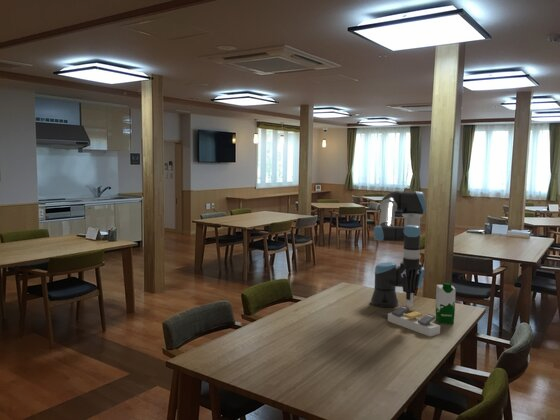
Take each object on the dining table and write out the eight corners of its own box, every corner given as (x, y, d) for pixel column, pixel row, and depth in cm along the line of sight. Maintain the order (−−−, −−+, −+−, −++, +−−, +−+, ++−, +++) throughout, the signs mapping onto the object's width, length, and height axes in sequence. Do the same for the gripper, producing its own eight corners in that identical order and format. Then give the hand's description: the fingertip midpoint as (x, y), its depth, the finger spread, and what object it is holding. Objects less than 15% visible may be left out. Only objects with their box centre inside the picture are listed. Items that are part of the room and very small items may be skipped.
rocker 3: (428, 316, 224) (428, 313, 224) (435, 318, 221) (435, 315, 221) (418, 323, 220) (417, 320, 220) (424, 325, 217) (424, 322, 217)
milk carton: (437, 323, 233) (439, 284, 231) (433, 318, 241) (435, 280, 240) (455, 324, 232) (457, 285, 230) (451, 318, 241) (452, 280, 239)
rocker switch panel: (385, 314, 247) (385, 305, 246) (439, 333, 219) (440, 323, 218) (376, 316, 243) (376, 307, 242) (430, 336, 215) (430, 325, 214)
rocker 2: (415, 313, 231) (415, 310, 231) (421, 315, 228) (422, 313, 228) (404, 316, 226) (404, 314, 226) (410, 319, 223) (411, 316, 223)
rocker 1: (402, 307, 237) (402, 305, 237) (409, 309, 234) (408, 307, 234) (392, 314, 233) (391, 311, 233) (398, 316, 230) (398, 313, 230)
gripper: (414, 254, 230) (412, 301, 232) (395, 257, 222) (394, 306, 225) (426, 257, 223) (424, 305, 226) (408, 260, 216) (406, 310, 219)
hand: (409, 305), depth 225 cm, fingers closed
